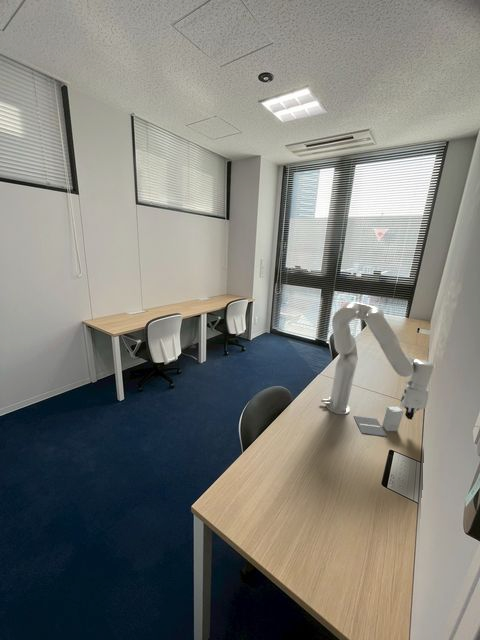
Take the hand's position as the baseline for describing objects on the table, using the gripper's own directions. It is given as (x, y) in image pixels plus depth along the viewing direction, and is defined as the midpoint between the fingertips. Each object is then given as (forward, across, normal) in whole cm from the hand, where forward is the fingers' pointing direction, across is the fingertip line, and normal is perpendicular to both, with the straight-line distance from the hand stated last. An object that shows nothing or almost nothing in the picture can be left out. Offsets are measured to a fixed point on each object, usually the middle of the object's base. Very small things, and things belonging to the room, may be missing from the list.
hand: (408, 417), depth 130 cm
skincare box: (+8, -7, 0) cm, 11 cm away
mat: (+8, -17, 0) cm, 19 cm away
